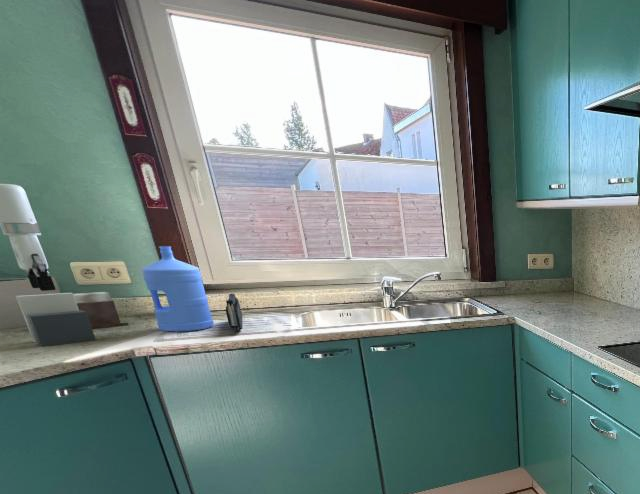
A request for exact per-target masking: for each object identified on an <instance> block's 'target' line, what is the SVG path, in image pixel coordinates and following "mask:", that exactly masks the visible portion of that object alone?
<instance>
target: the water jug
mask: <svg viewBox="0 0 640 494" xmlns="http://www.w3.org/2000/svg"><path fill="white" fill-rule="evenodd" d="M158 248H159V250H160V251H159V252H160V255H161V259H159V260H158V261H155V262H153V263H151V264H149V265H147V266H144V267H143V268H142V269H141V272H142V277H143V280H144V282H145V285H146V288H147V290H149V293H150V296H151V300H152V303H153V306H154V309H153V311H154V315H155V318H156V321H157V327H158V329H159V330H161V331H163V332H168V331H174V332H173V333H178V332H179V333H181V332H182V333H183V332H193V331H195V332H196V331H201V330H206V329H210V328H212V327H213V326H214V325H215V324H214V319H213V317H212V313H211V309H210V305H209V299H208V297H207V294H206V290H205V286H204V283H203V276H202V273H201V272H200V269H199V267H198V266H195V265H193V264H189V263H187V262H184V261H181V260H178V259H176V258H175V257H174V253H173V251H172V246H169V245H161V246H158ZM158 292H163V293H164V294H165V298H166V300H167V304H168V305H167V306H163V305H161V301H160V297H159V294H158Z"/></svg>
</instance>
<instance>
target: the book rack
mask: <svg viewBox="0 0 640 494" xmlns="http://www.w3.org/2000/svg"><path fill="white" fill-rule="evenodd" d="M73 295H74V298H75V301H76V303H77V306H78V309H79V310H82V311H85V312H86V313H87V316H88V319H89V321H90V324H91V327H92V330H96V329H106V328H115V327H124V325H125V326H129V322H128V321H126V320H122V319H120V317H119V314H118V310H117V306H116V304H115V302H114V300H112V297H111V294H110V292H107V291H99V292H97V291H95V292H82V293H73Z"/></svg>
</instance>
